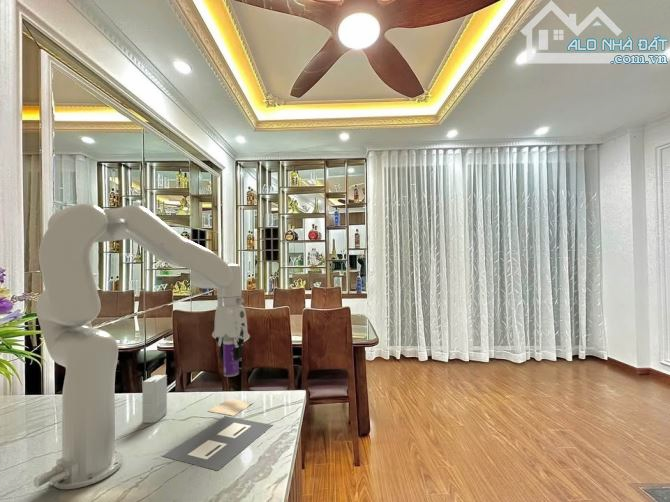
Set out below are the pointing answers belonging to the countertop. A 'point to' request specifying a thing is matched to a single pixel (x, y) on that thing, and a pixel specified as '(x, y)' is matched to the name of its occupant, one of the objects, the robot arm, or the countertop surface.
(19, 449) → the countertop surface
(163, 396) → the skincare box
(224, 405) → the oak pad
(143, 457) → the countertop surface
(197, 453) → the label mat
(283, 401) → the countertop surface
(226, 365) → the container
